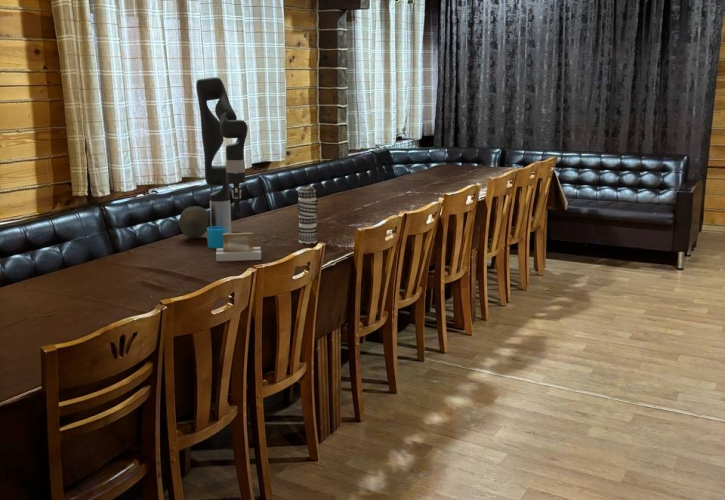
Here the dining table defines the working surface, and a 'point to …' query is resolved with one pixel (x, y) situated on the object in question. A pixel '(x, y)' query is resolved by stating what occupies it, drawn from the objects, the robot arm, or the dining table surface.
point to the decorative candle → (307, 215)
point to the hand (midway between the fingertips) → (237, 210)
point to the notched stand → (238, 255)
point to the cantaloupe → (194, 222)
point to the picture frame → (237, 242)
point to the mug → (215, 236)
